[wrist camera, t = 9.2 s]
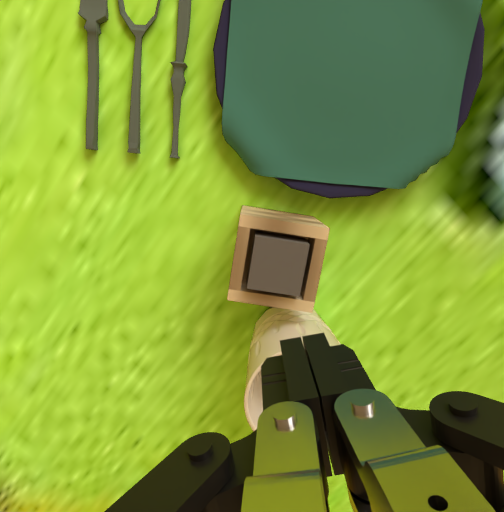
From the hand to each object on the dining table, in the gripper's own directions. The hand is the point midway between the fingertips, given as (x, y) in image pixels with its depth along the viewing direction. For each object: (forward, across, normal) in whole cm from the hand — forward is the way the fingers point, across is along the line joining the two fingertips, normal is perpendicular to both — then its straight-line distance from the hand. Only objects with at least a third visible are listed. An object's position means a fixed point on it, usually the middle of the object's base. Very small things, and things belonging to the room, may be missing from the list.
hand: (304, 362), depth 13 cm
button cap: (+15, 0, 0) cm, 15 cm away
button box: (+20, 0, 0) cm, 20 cm away
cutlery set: (+21, -3, -14) cm, 25 cm away
